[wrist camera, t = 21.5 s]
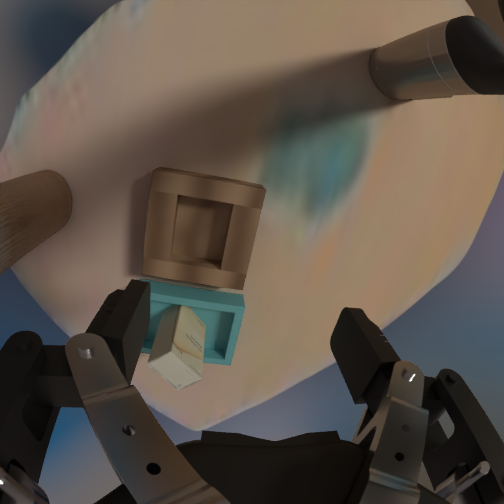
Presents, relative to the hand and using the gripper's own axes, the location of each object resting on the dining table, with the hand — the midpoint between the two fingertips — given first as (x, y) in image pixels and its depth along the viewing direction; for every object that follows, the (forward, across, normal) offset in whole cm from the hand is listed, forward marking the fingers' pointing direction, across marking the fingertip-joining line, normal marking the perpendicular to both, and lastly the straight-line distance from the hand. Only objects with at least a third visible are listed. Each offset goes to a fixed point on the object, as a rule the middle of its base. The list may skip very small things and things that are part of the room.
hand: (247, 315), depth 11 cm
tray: (+28, +4, +22) cm, 36 cm away
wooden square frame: (+29, +4, +6) cm, 29 cm away
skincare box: (+28, +4, +21) cm, 35 cm away
